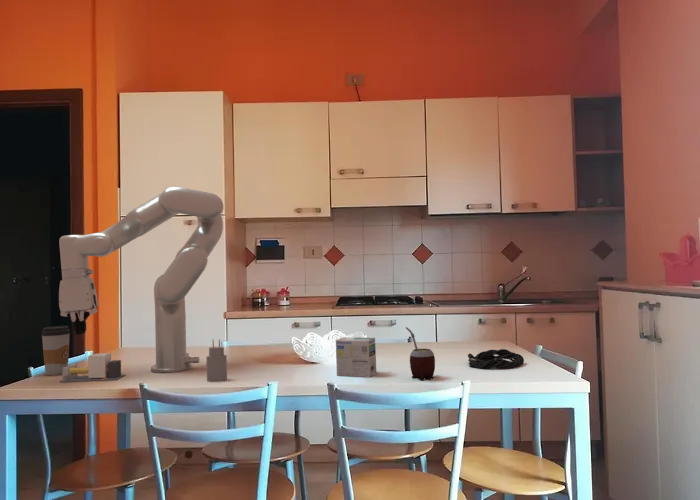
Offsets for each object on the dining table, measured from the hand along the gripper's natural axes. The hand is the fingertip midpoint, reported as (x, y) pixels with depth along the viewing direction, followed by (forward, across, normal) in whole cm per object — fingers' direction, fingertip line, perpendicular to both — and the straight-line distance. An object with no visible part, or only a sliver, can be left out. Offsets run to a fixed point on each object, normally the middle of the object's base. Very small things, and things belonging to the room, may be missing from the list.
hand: (80, 333), depth 167 cm
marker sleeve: (+14, -6, +2) cm, 15 cm away
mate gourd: (+19, -102, +20) cm, 105 cm away
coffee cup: (+13, +13, -9) cm, 21 cm away
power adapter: (+16, -43, +11) cm, 47 cm away
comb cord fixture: (+14, -3, +2) cm, 14 cm away
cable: (+21, -128, +5) cm, 130 cm away
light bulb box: (+18, -84, +10) cm, 86 cm away
